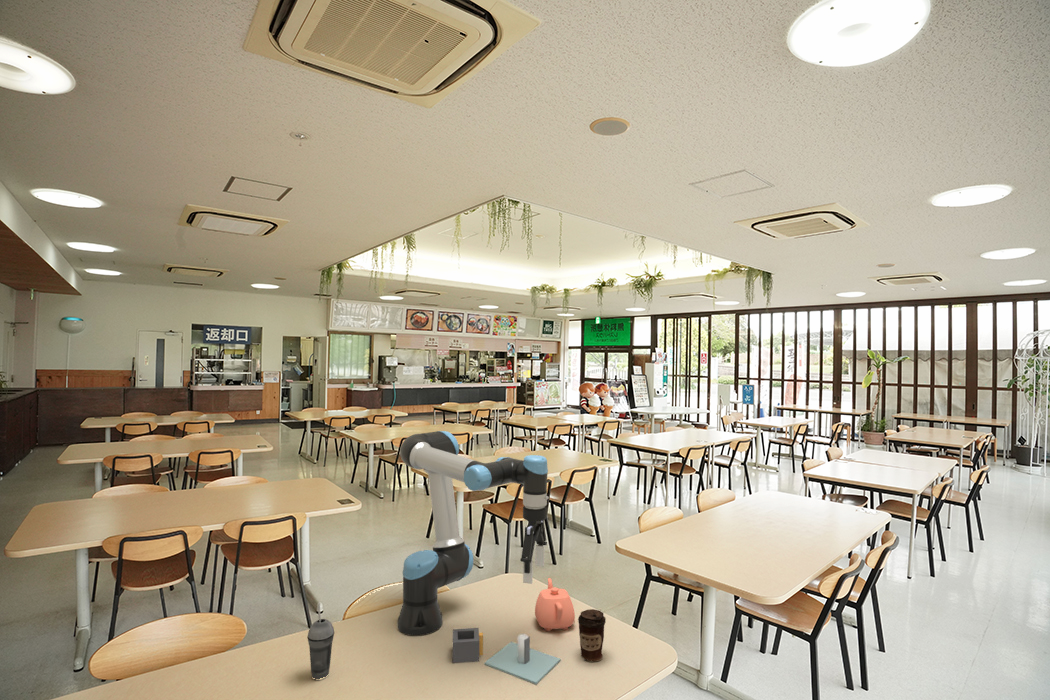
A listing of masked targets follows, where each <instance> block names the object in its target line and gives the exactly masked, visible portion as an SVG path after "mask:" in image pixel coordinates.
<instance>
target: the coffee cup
mask: <svg viewBox="0 0 1050 700" xmlns="http://www.w3.org/2000/svg"><path fill="white" fill-rule="evenodd" d="M577 620H578V621H577V622H578V631H579V632H578V633H579V645H580V646H579V647H580V654H581V658H582V659H583V660H585V661H587V662H591V663H592V662H593V663H594V662H599V661H601V660H603V652H602V651H603V645H604V641H605V640H604V638H605V624H606V617H605V616H604V612H603V611H601V610H599V609H594V608H592V609H591V608H590V609H585V610H583V611H581V612H580V614H579V615H578V619H577Z"/></svg>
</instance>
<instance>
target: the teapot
mask: <svg viewBox="0 0 1050 700" xmlns="http://www.w3.org/2000/svg"><path fill="white" fill-rule="evenodd" d="M535 602H536V603H535V606H534V607H535V608H534V616H535V619H536V621H537V623H538V625H539V626H540V627H541V628H544V631H546V632H550V631H552V630H553V629H555V630H557V629H561V630H564V631H565V630H569V627H571V626H572V625H573V624H574V622H575V619H576V615H575V608H574V604H573V601H572V599H571V596H570V595H569V592H568V591H567V590H566V589H565V588H558V587H555V586H553V581H552V578H551V577H548V578H547V588H544V589H542V590H540V591H539V594H538V597H537V599H536V601H535Z"/></svg>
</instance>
